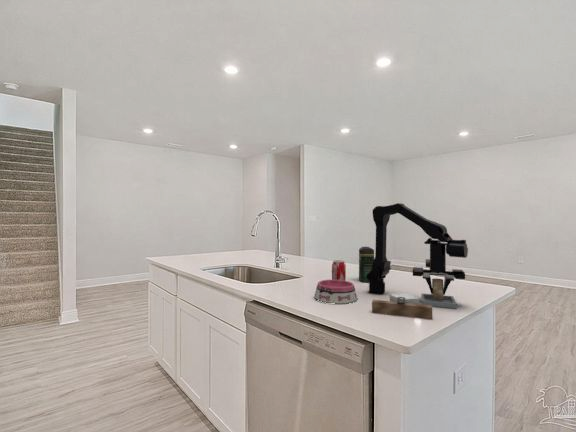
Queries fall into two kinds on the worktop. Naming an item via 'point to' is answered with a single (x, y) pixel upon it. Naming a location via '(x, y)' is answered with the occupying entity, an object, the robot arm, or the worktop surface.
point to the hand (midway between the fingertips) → (437, 294)
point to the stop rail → (402, 308)
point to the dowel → (437, 289)
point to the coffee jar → (365, 262)
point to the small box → (407, 297)
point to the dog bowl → (336, 292)
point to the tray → (446, 303)
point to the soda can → (338, 270)
